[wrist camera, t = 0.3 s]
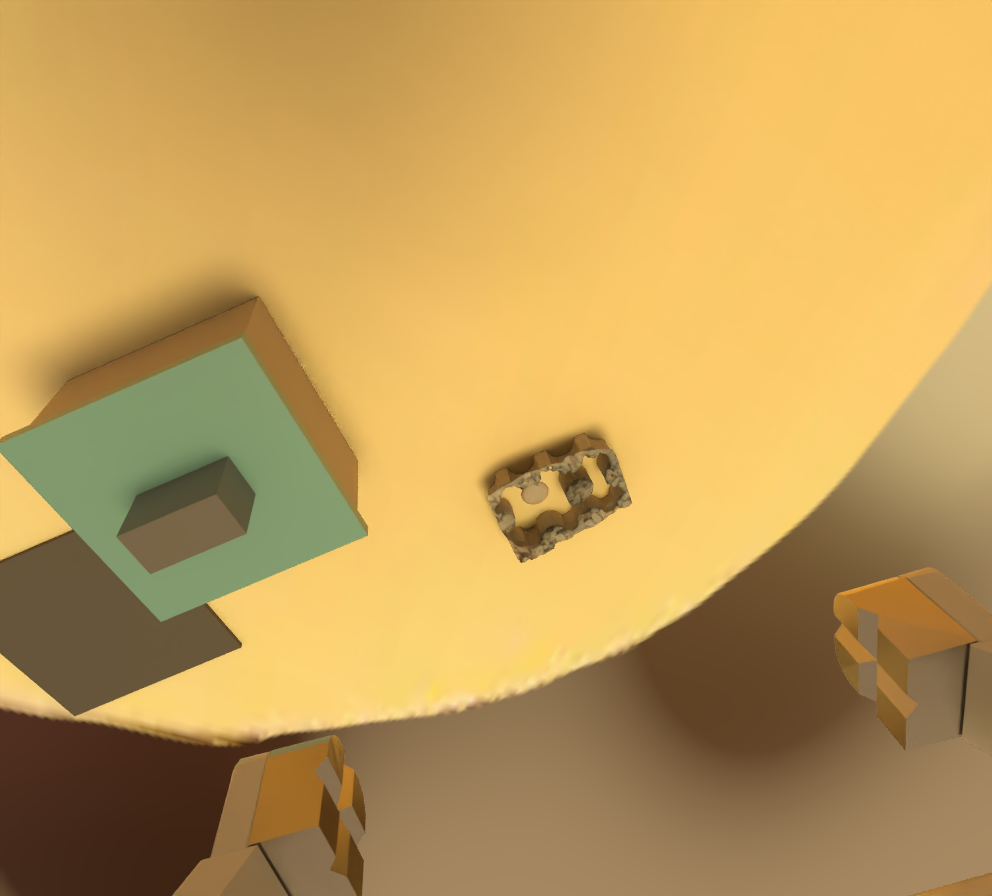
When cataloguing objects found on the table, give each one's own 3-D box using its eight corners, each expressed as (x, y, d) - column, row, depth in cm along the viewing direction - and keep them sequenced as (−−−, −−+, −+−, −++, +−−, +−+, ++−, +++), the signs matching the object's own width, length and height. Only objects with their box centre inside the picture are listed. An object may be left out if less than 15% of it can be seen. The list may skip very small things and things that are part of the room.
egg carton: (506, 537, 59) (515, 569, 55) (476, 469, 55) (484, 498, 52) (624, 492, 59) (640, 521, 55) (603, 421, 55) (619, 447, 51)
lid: (11, 426, 40) (-43, 486, 34) (247, 323, 39) (229, 367, 34) (168, 599, 48) (144, 668, 42) (367, 515, 47) (368, 576, 42)
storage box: (67, 380, 46) (16, 440, 39) (259, 296, 45) (241, 342, 38) (191, 531, 53) (166, 603, 46) (357, 460, 52) (357, 523, 46)
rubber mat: (-68, 590, 52) (-71, 593, 52) (123, 508, 51) (121, 511, 51) (76, 712, 60) (74, 716, 60) (241, 644, 60) (241, 647, 59)
